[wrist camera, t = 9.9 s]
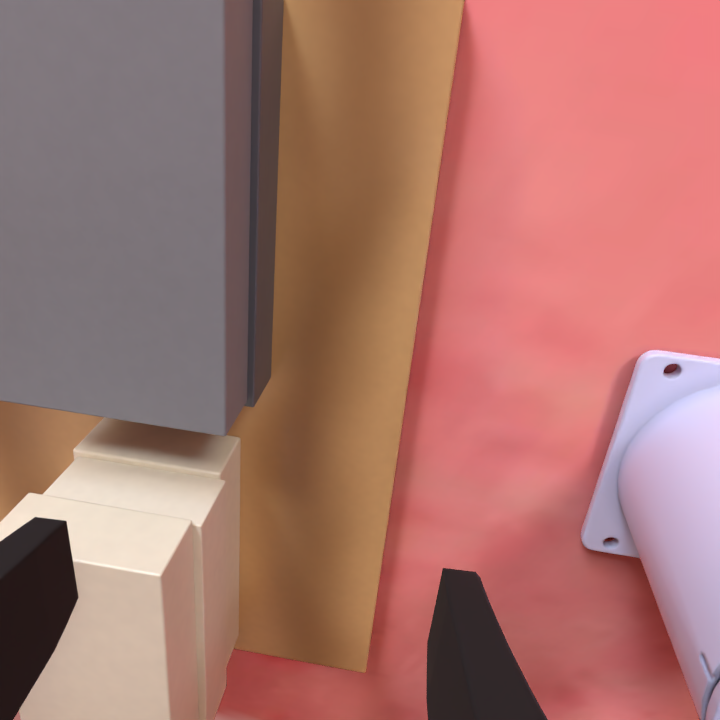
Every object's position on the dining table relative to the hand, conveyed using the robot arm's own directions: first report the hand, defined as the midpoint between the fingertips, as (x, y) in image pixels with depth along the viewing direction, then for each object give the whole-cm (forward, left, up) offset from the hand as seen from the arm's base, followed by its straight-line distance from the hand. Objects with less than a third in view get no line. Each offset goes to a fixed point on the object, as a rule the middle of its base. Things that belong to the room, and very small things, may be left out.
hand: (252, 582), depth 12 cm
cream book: (+6, +8, -5) cm, 11 cm away
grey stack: (+6, -5, -9) cm, 12 cm away
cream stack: (+6, +8, -9) cm, 14 cm away
